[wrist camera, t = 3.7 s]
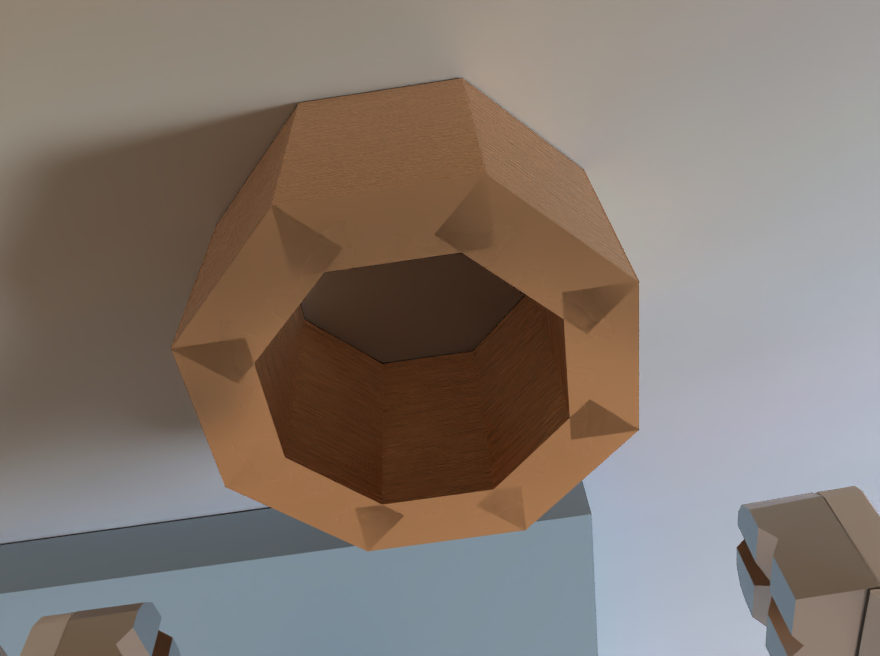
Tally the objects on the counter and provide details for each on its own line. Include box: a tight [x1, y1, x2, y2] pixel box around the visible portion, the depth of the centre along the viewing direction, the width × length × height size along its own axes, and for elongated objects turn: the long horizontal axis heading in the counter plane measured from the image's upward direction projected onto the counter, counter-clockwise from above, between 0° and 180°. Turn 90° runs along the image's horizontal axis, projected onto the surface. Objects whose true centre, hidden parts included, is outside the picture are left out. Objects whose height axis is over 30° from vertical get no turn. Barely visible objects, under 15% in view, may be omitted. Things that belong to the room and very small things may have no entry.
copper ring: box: [171, 78, 639, 552], centre depth 14 cm, size 7×7×4 cm
